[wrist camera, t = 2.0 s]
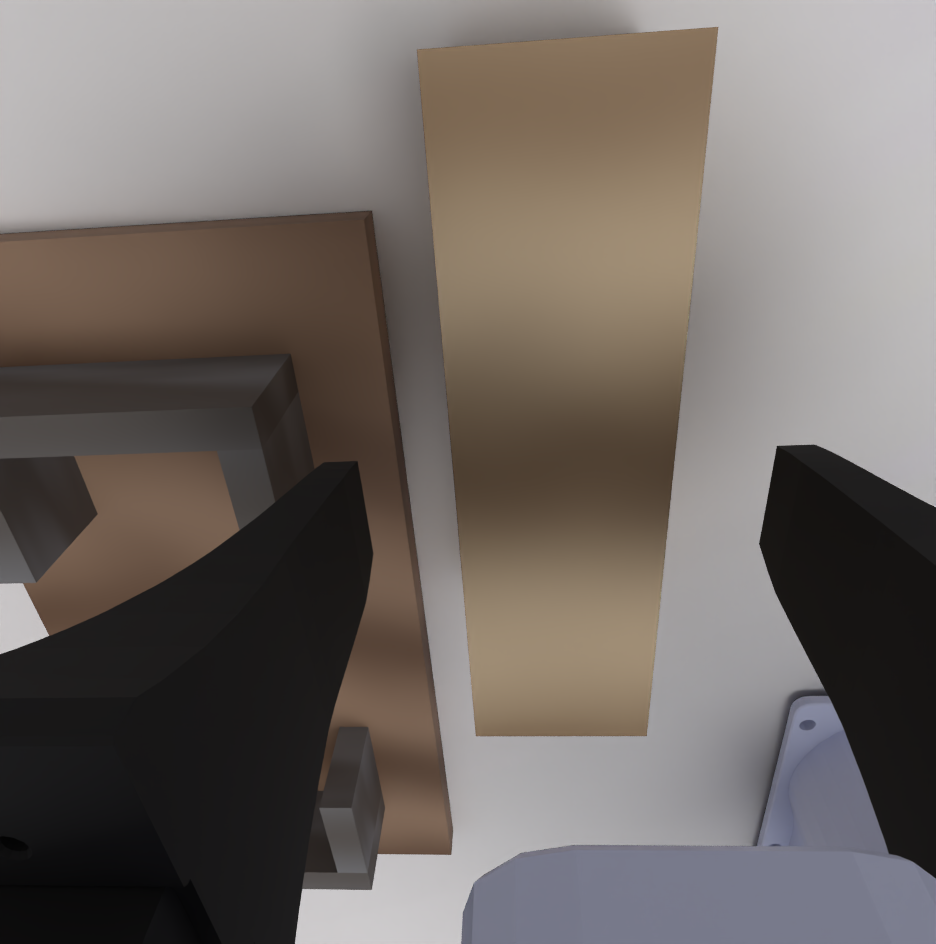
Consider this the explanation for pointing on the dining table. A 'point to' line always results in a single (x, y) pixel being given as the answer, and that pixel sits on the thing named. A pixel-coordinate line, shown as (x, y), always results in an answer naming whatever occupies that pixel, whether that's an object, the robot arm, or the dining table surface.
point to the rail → (565, 355)
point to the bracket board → (222, 463)
